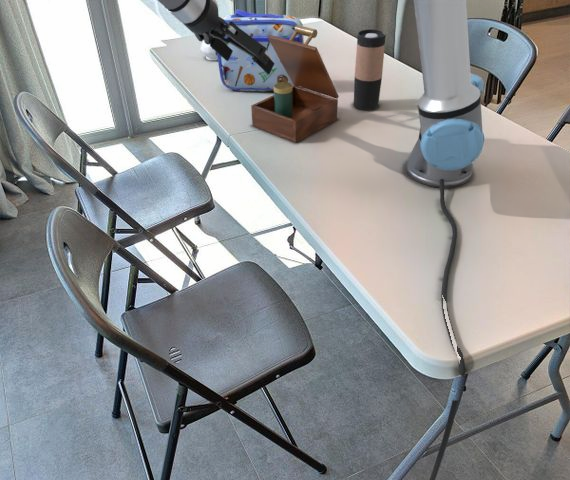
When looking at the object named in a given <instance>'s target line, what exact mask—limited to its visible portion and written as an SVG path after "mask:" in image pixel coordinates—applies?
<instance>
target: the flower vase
mask: <svg viewBox="0 0 570 480" xmlns="http://www.w3.org/2000/svg"><path fill="white" fill-rule="evenodd" d="M213 1H214V2H215V3H216V4H217V7H218V8H219V4H218V2H217V0H213ZM230 2H234V0H230ZM213 38H214V37H213ZM199 46H200V47H199V48H200V52H201V53H202V55H204V56H205V58H206V60H208V61H212V62H213V61H218V57H217V55H215V50H214V49H213V50H212V47H211V46H210V44H209V45H208V44H206V43H205V42H204V40H203V41H202V42H201V43H200V45H199Z"/></svg>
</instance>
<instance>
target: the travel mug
mask: <svg viewBox="0 0 570 480" xmlns="http://www.w3.org/2000/svg"><path fill="white" fill-rule="evenodd" d="M385 47H386V33H385V34H384V32H383V31H382V30H380V29H375V28H373V29H372V28H371V29H368V28H367V29H363V30H360V31H358V33H357V39H356V52H355V53H356V54H355V65H354V66H355V67H354V80H353V81H354V83H353V107H354V108H355V109H357V110H359V111H364V112H369V111H374V110H377V109H378V107H379V102H380V96H381V86H382V79H383V71H384V58H385Z"/></svg>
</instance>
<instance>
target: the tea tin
mask: <svg viewBox="0 0 570 480" xmlns="http://www.w3.org/2000/svg"><path fill="white" fill-rule="evenodd" d="M292 90H293V89H292V84H291V83H288V82H279V83H276V84H274V91H273V95H274V106H275V113H278V114H280V115H283V116H286V117H289V118H291V119H293V106H292Z"/></svg>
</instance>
